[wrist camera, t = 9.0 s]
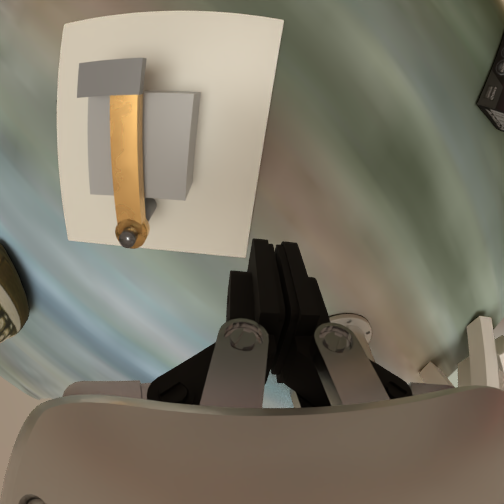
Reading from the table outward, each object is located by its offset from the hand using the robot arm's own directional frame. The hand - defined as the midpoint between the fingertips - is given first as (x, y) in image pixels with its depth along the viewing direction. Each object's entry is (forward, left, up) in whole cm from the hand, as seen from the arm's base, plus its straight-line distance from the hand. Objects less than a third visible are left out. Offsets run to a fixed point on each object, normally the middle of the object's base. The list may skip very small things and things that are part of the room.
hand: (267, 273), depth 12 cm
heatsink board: (0, +11, -23) cm, 25 cm away
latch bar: (0, +11, -16) cm, 19 cm away
